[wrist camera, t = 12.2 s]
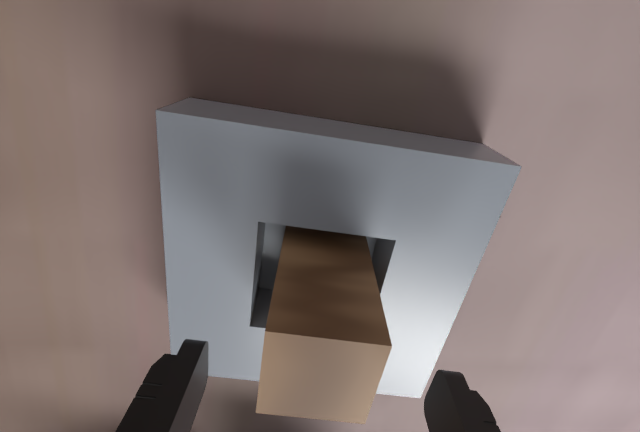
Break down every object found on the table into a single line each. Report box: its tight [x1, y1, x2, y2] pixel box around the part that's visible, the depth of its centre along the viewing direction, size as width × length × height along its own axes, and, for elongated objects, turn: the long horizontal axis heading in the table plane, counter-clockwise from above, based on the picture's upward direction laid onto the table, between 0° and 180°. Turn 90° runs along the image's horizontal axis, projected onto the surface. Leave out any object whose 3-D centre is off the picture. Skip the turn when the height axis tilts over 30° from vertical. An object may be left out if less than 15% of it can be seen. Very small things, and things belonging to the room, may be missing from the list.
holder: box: [156, 97, 522, 398], centre depth 17 cm, size 14×14×4 cm
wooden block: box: [256, 226, 392, 424], centre depth 15 cm, size 4×4×8 cm
